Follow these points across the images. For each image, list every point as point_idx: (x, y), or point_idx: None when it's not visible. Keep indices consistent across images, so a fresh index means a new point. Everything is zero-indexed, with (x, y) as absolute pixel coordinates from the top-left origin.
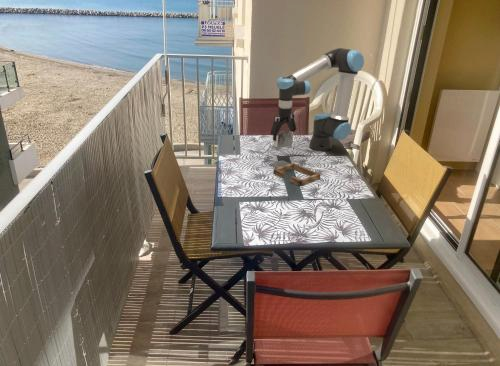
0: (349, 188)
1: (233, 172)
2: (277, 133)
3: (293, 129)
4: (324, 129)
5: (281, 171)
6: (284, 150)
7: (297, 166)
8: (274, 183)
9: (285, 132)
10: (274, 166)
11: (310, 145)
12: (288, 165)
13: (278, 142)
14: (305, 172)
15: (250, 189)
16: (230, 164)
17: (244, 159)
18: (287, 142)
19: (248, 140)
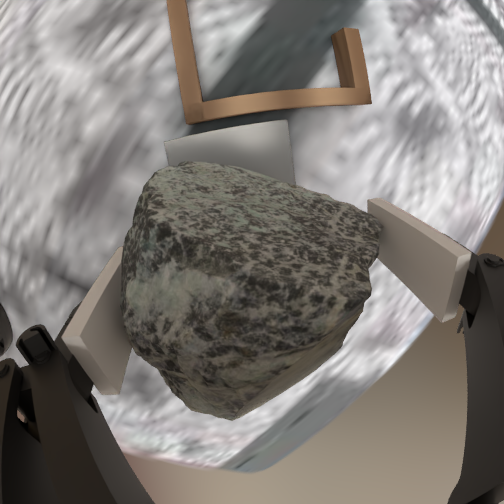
0: None
1: (459, 227)
2: (488, 276)
3: (41, 371)
4: None
5: (350, 51)
6: None
7: (195, 66)
8: (404, 28)
9: (280, 326)
10: (295, 184)
11: (4, 332)
12: (248, 101)
13: (369, 223)
14: (187, 10)
15: (483, 66)
16: (419, 302)
17: (347, 333)
18: (239, 188)
19: (211, 449)
